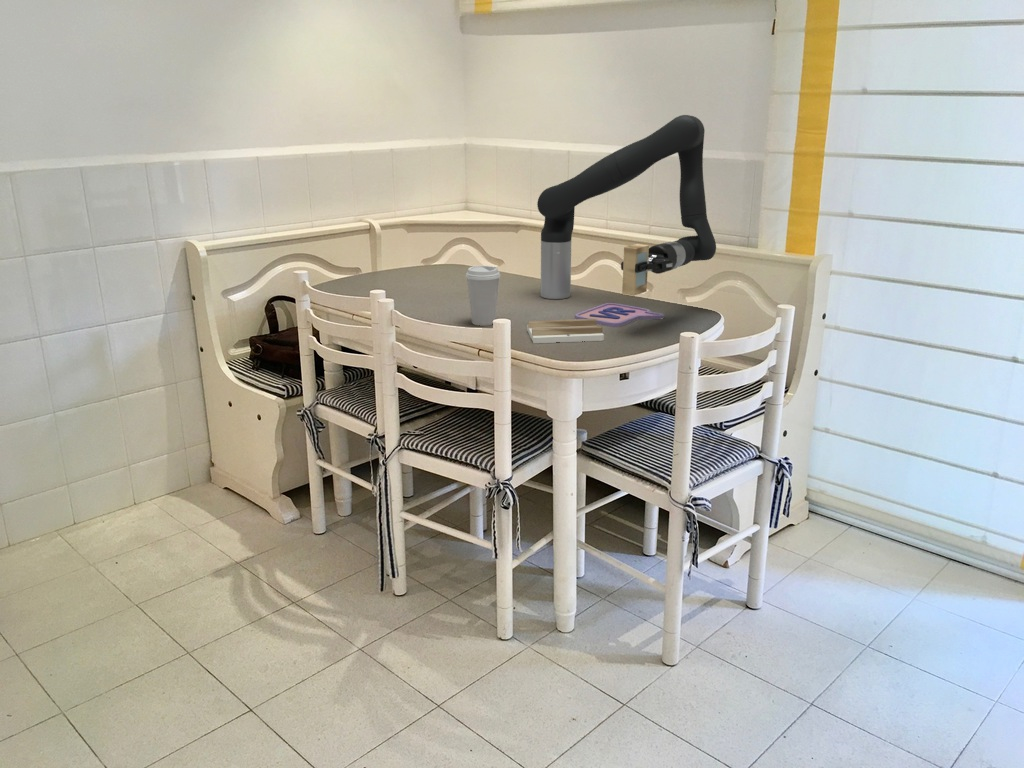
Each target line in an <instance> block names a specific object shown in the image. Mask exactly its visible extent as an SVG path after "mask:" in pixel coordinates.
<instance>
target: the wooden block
mask: <svg viewBox="0 0 1024 768" xmlns="http://www.w3.org/2000/svg"><path fill="white" fill-rule="evenodd" d="M649 248H650V245H648V244H641V243H636V244H631V245H627V246H624V247H623V261H622V262H623V270H622V289H621V290H622V291H621V294H622V295H628V296H633V297H634V296H637V295H640V294H643V293H646V292H647V291H648V289H647V288H648V272H649V271H648V272H647V271H643V272H639V273H636V272H635V265H636V264H638V263H641V262H645V261H647V260H648V254H649Z"/></svg>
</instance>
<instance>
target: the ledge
mask: <svg viewBox="0 0 1024 768" xmlns="http://www.w3.org/2000/svg"><path fill="white" fill-rule="evenodd" d="M527 323H528V324H527V325H526V327H527V328H526V330H527V333H528V335H529V337H530V339H531V341H532V343H533V344H553V343H554V344H556V342H560V343H581V342H582V341H583V342H584V341H585V342H599V341H600V342H604V340H605V334H604V333H603V330H604V329H603V325H598V324H597V320H596V319H575V318H574V319H557V320H556V319H555V320H553V319H552V320H551V319H549V320H528V321H527ZM583 342H582V343H583ZM585 342H584V343H585Z"/></svg>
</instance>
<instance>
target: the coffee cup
mask: <svg viewBox="0 0 1024 768" xmlns="http://www.w3.org/2000/svg"><path fill="white" fill-rule="evenodd" d="M498 269H499V268H498V267H496V266H493V265H474V266H471V267H468V269H467V272H466V273H465V276H464V277H465V279H466V281H467V288H468V289H467V290H468V299H469V306H470V307H469V308H470V319H471V324H473V325H475V326H479V325H480V326H482V327H487V326H493V325H492V321H493V319H495V318H496V319H497V309H498V307H497V306H498V295H499V279H500V278H501V276H502V275H501V272H500V271H499V270H498ZM480 326H479V327H480Z"/></svg>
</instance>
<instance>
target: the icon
mask: <svg viewBox="0 0 1024 768" xmlns="http://www.w3.org/2000/svg"><path fill="white" fill-rule="evenodd" d="M660 318H665V314H663V313H660V312H654V311H651V309H649V308H645V307H644V308H643V307H639V306H634V305H627V304H622V303H618V302H606V303H603V304H600V305H598V306H595V307H591V308H589V309H585V310H583V311H580V312H577V313H575V314H574V320H575V319H596V320H597V325H600V324H601V325H600V326H605V325H606V326H607V327H612V328H619V327H622V326H625V324H626V325H628V324H631V323H633V322H635V321H637V319H638V320H661V319H660ZM634 320H635V321H634ZM632 321H633V322H632Z"/></svg>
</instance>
